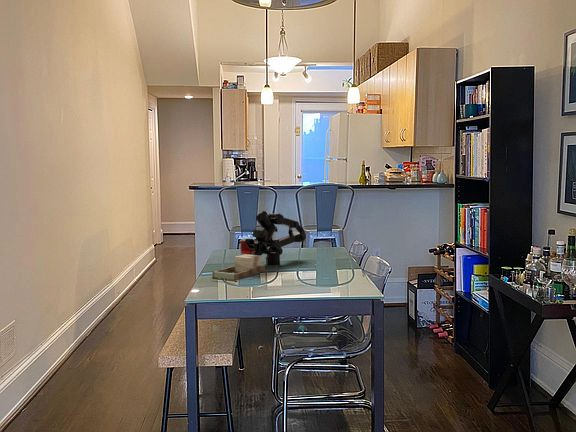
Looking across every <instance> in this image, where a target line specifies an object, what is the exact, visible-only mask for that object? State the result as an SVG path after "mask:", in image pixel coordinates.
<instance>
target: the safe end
mask: <svg viewBox="0 0 576 432" xmlns="http://www.w3.org/2000/svg"><path fill="white" fill-rule="evenodd" d="M213 278H214V279H213V280H219V281H227V282H232V283H233V282H234V281H235V280H234V274H233V273H224V272H214V277H213Z"/></svg>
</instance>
